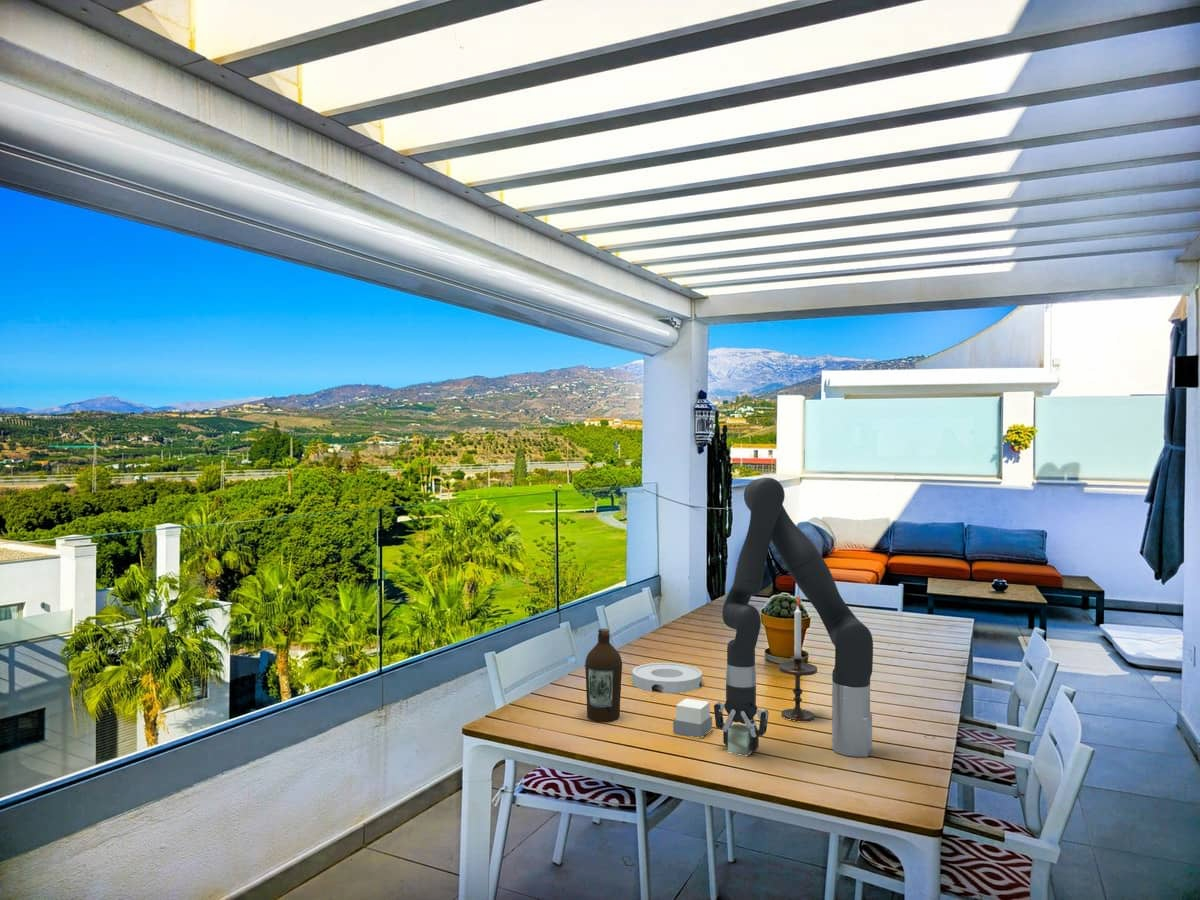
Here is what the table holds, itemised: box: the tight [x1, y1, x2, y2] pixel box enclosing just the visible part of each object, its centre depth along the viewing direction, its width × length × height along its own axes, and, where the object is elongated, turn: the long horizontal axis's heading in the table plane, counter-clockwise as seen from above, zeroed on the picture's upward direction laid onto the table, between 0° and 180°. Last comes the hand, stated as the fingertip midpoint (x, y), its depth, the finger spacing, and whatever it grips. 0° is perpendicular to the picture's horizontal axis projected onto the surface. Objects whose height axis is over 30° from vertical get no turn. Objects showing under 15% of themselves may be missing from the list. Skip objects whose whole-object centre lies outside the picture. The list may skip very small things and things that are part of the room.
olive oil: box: [584, 628, 623, 723], centre depth 222 cm, size 11×11×25 cm
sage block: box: [727, 722, 752, 756], centre depth 196 cm, size 5×5×6 cm
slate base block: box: [672, 715, 713, 739], centre depth 210 cm, size 8×8×4 cm
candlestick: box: [777, 594, 818, 722], centre depth 223 cm, size 11×11×35 cm
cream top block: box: [675, 697, 711, 724], centre depth 210 cm, size 7×7×4 cm
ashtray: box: [631, 662, 703, 694], centre depth 257 cm, size 23×23×4 cm
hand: (740, 748), depth 196 cm, fingers open, 6 cm apart
